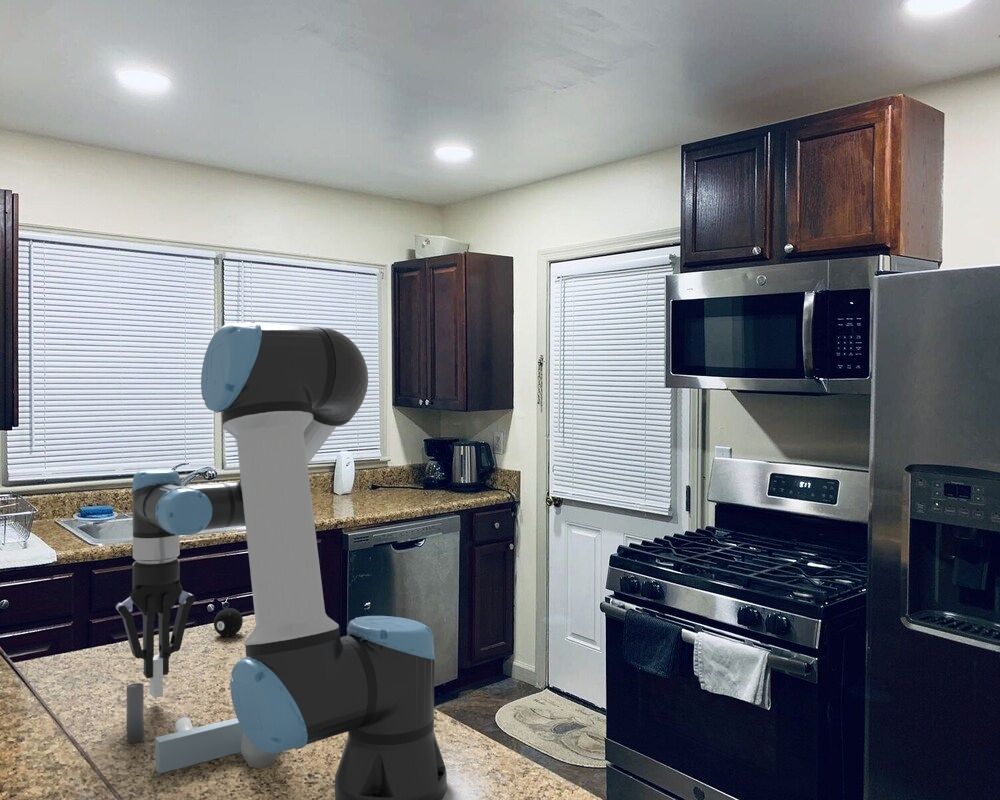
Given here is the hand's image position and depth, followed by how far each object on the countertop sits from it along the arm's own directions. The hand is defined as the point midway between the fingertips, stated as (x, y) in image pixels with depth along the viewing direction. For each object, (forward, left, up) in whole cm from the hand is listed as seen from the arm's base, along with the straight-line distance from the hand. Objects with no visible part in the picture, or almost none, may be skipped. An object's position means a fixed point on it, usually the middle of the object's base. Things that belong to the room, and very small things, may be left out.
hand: (156, 694), depth 140 cm
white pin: (-14, 0, -1) cm, 14 cm away
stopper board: (-26, -3, -2) cm, 26 cm away
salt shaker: (-32, -7, -2) cm, 33 cm away
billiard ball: (+33, -24, -2) cm, 41 cm away
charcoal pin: (-13, +6, -2) cm, 15 cm away
